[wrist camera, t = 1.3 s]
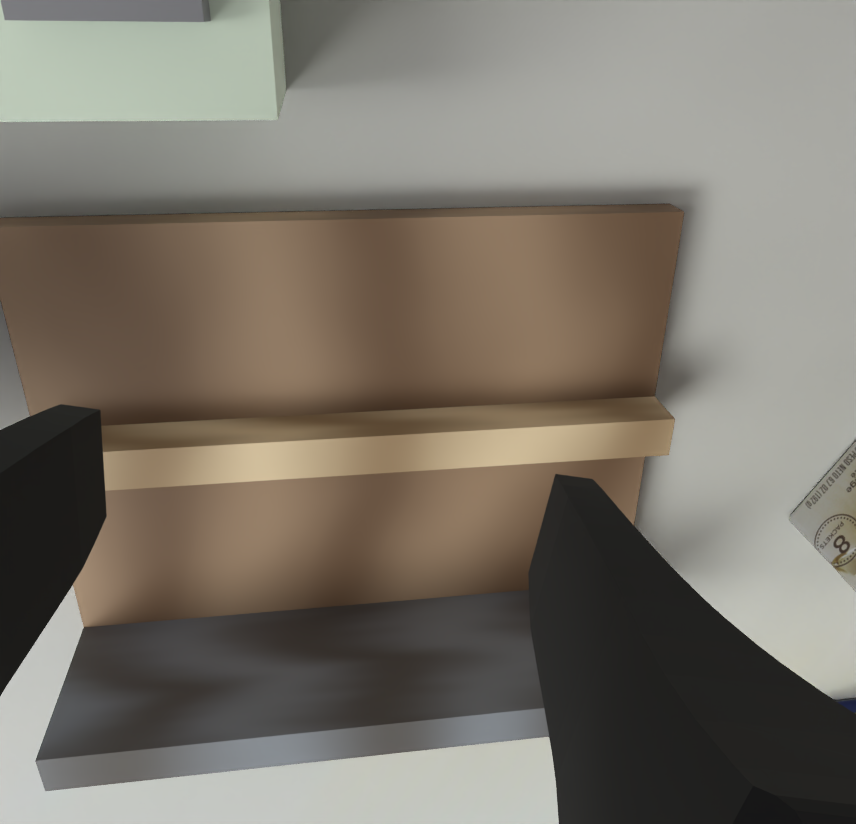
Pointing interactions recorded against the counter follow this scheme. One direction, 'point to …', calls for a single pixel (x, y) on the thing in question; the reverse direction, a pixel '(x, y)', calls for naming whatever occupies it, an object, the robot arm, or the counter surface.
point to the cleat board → (329, 464)
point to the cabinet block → (141, 60)
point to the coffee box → (833, 517)
